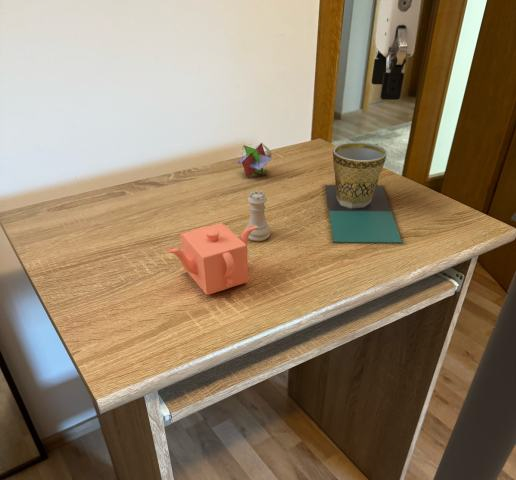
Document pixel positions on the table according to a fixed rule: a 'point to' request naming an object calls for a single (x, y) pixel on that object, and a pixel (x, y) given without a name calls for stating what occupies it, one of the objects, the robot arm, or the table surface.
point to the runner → (362, 220)
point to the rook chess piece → (258, 217)
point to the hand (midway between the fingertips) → (384, 91)
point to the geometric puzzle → (255, 159)
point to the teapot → (215, 257)
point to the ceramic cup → (357, 172)
